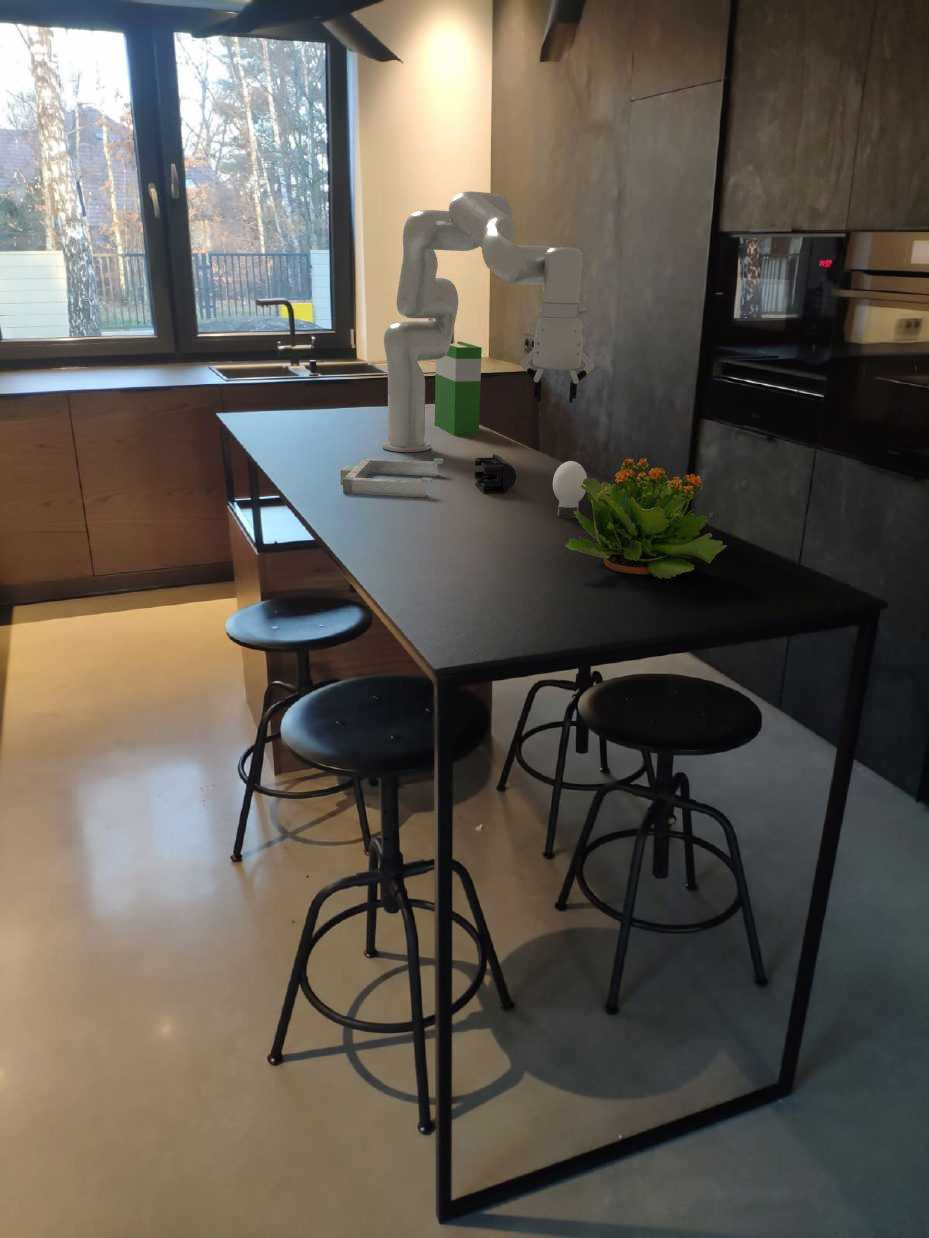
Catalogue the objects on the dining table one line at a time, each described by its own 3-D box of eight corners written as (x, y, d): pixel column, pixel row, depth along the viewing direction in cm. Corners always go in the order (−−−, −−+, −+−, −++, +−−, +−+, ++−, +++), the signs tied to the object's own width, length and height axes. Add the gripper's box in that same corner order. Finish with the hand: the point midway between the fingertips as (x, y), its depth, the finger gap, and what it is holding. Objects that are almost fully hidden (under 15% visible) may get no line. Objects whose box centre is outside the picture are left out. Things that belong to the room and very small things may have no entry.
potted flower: (586, 594, 145) (595, 482, 139) (533, 549, 166) (539, 450, 160) (730, 583, 152) (745, 476, 145) (661, 541, 173) (671, 446, 167)
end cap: (516, 494, 204) (517, 463, 201) (484, 495, 202) (485, 463, 200) (504, 483, 213) (505, 453, 210) (473, 484, 211) (474, 454, 209)
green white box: (434, 425, 280) (436, 341, 272) (458, 424, 283) (460, 341, 274) (454, 436, 265) (456, 347, 256) (478, 435, 267) (481, 347, 259)
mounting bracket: (353, 470, 220) (353, 454, 219) (443, 474, 219) (443, 458, 217) (331, 492, 200) (331, 474, 199) (430, 497, 198) (430, 480, 197)
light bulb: (557, 521, 184) (561, 465, 180) (546, 512, 190) (549, 458, 186) (590, 519, 185) (594, 464, 181) (577, 511, 191) (581, 457, 187)
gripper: (602, 312, 196) (595, 400, 202) (518, 310, 197) (514, 397, 204) (603, 315, 189) (596, 406, 195) (517, 312, 190) (513, 402, 197)
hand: (554, 400), depth 199 cm, fingers open, 6 cm apart
